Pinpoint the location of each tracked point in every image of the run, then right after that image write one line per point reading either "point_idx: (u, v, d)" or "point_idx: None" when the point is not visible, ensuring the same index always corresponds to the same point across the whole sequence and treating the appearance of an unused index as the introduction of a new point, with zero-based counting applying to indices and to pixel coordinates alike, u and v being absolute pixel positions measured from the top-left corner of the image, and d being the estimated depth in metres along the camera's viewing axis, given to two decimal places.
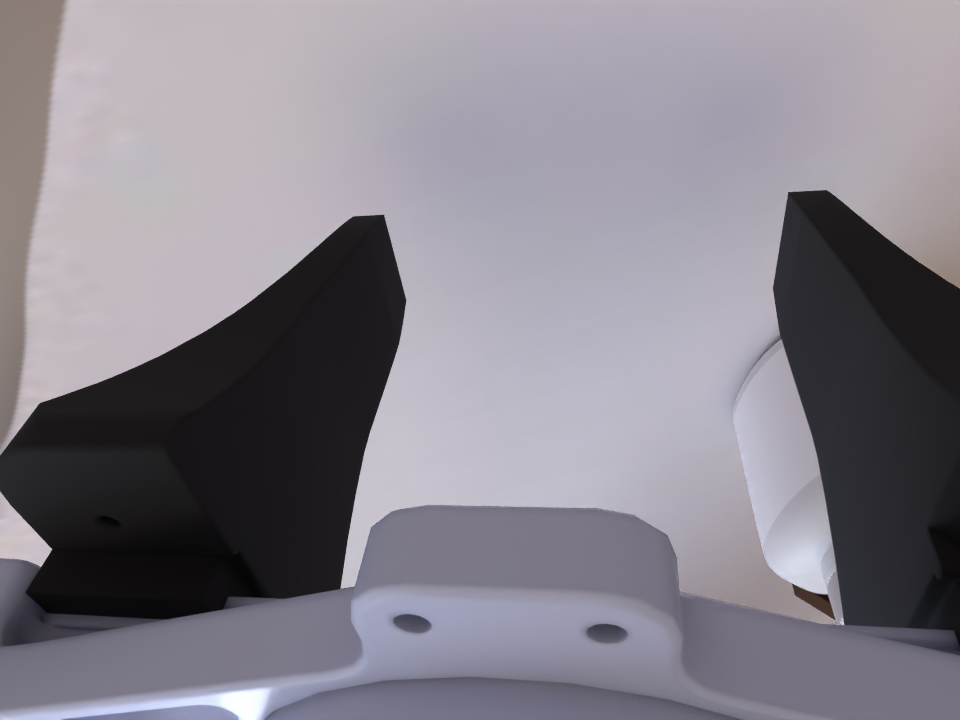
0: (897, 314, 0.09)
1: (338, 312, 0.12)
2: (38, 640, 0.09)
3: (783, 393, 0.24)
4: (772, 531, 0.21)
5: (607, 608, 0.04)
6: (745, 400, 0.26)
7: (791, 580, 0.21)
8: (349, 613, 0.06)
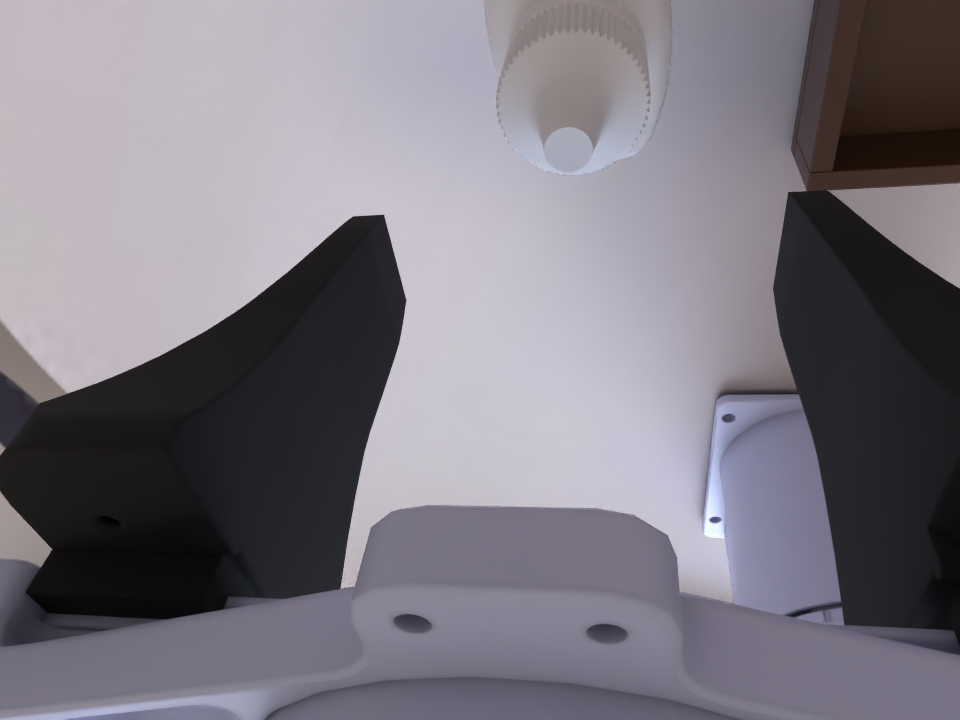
0: (897, 314, 0.09)
1: (338, 312, 0.12)
2: (38, 640, 0.09)
3: None
4: None
5: (607, 609, 0.04)
6: None
7: None
8: (349, 613, 0.06)
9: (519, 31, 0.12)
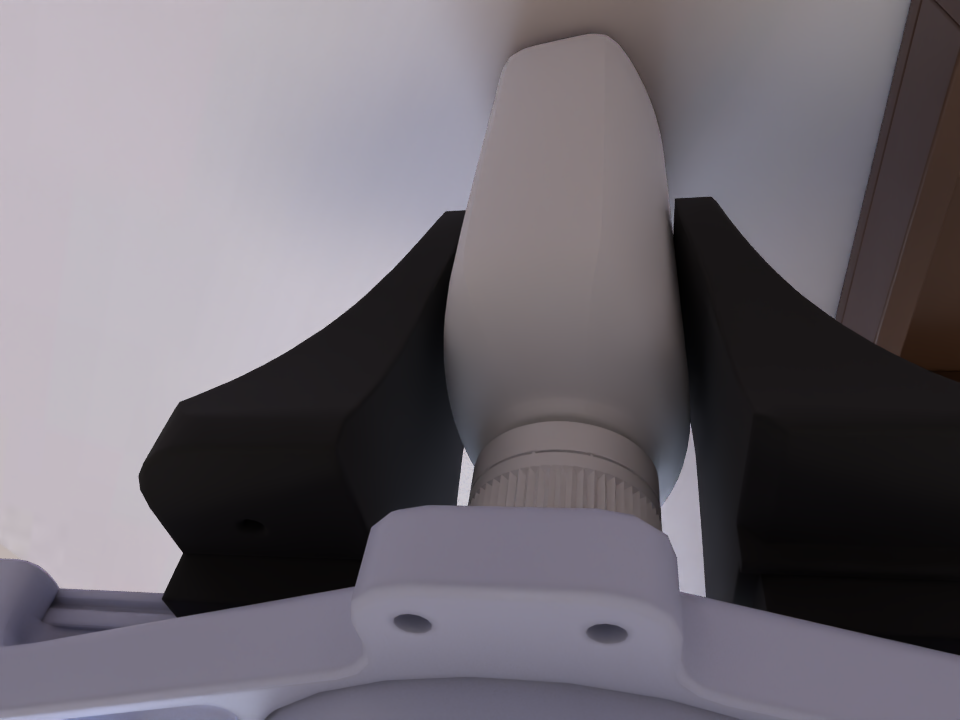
0: (733, 318, 0.09)
1: None
2: (38, 640, 0.09)
3: None
4: None
5: (607, 608, 0.04)
6: None
7: None
8: (349, 613, 0.06)
9: (486, 489, 0.09)
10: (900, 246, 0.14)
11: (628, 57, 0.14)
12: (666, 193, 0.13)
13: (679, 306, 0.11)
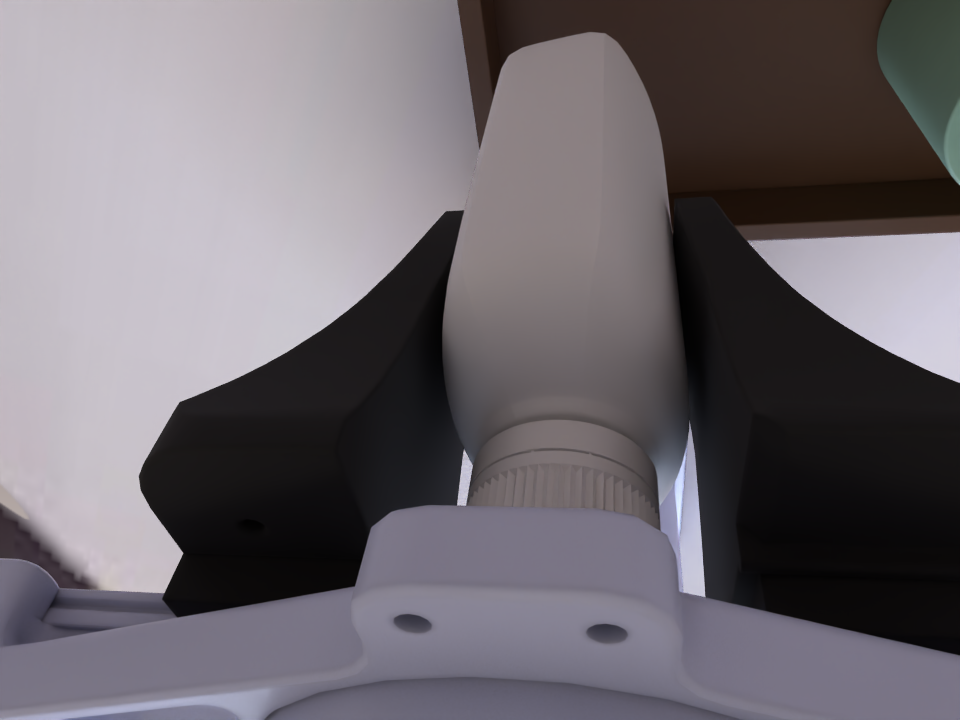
0: (733, 318, 0.09)
1: None
2: (38, 640, 0.09)
3: None
4: None
5: (607, 608, 0.04)
6: None
7: None
8: (349, 613, 0.06)
9: (484, 488, 0.09)
10: (468, 72, 0.19)
11: None
12: (665, 192, 0.13)
13: (678, 305, 0.11)
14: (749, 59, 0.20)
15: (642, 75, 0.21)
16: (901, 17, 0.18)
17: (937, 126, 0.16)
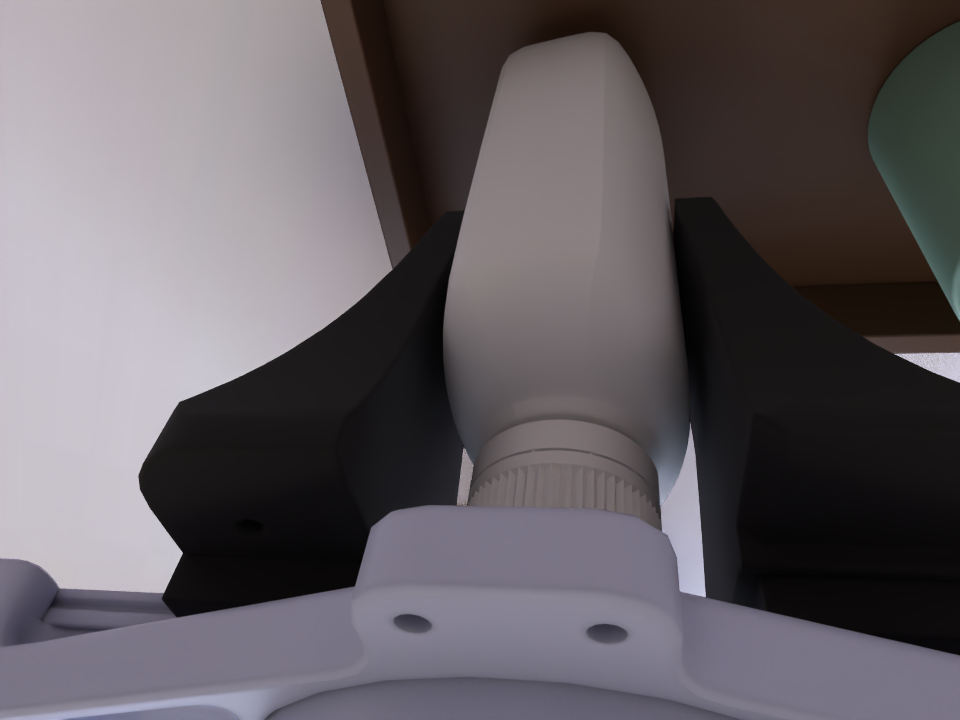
0: (733, 318, 0.09)
1: None
2: (38, 640, 0.09)
3: None
4: None
5: (607, 608, 0.04)
6: None
7: None
8: (349, 613, 0.06)
9: (485, 487, 0.09)
10: (366, 167, 0.16)
11: None
12: (666, 191, 0.13)
13: (679, 304, 0.11)
14: (712, 146, 0.17)
15: None
16: (897, 106, 0.14)
17: (944, 264, 0.12)
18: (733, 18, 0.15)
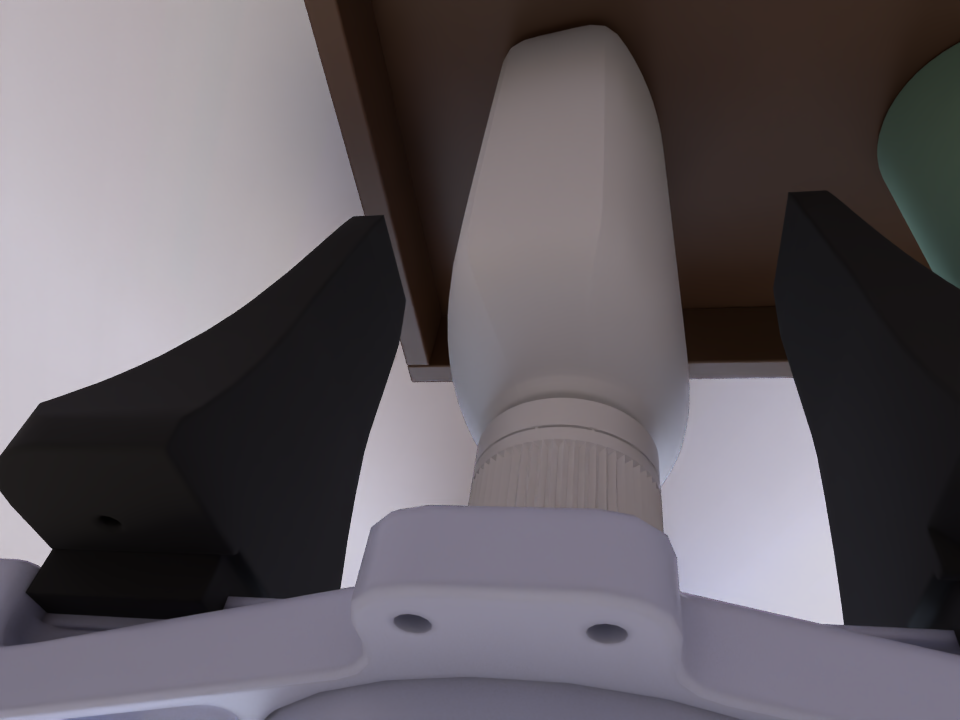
0: (897, 314, 0.09)
1: (338, 312, 0.12)
2: (38, 640, 0.09)
3: None
4: None
5: (607, 608, 0.04)
6: None
7: None
8: (349, 613, 0.06)
9: (490, 464, 0.09)
10: (357, 185, 0.15)
11: (627, 48, 0.14)
12: (665, 181, 0.13)
13: (678, 289, 0.11)
14: (716, 163, 0.16)
15: None
16: (909, 124, 0.14)
17: None
18: (738, 32, 0.14)
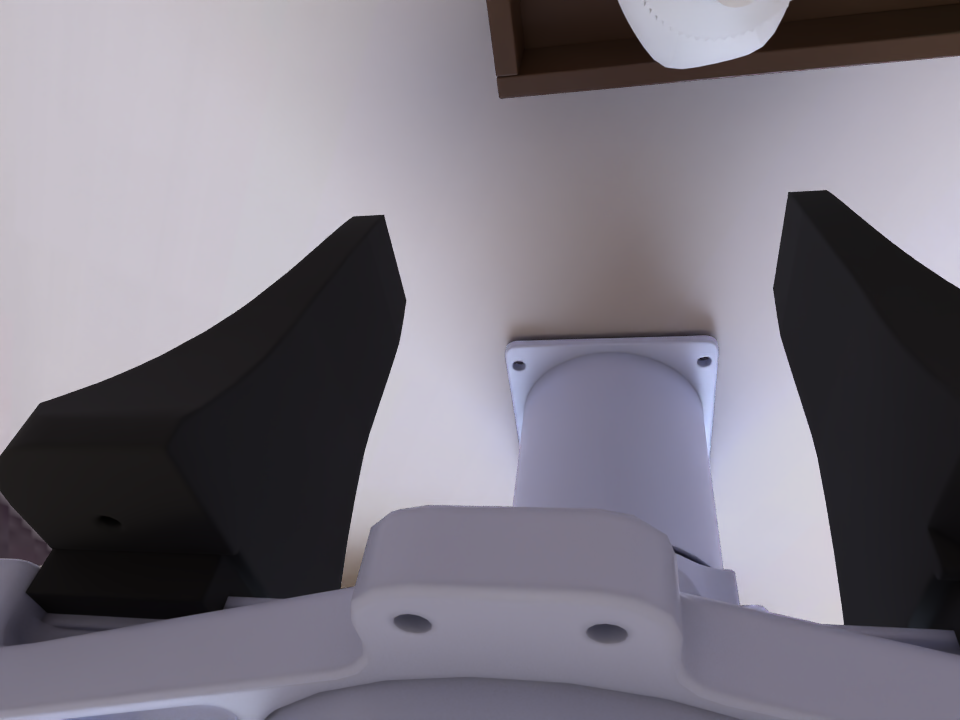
0: (897, 314, 0.09)
1: (338, 312, 0.12)
2: (38, 640, 0.09)
3: None
4: None
5: (607, 608, 0.04)
6: None
7: (690, 55, 0.13)
8: (349, 613, 0.06)
9: None
10: None
11: None
12: None
13: None
14: None
15: None
16: None
17: None
18: None
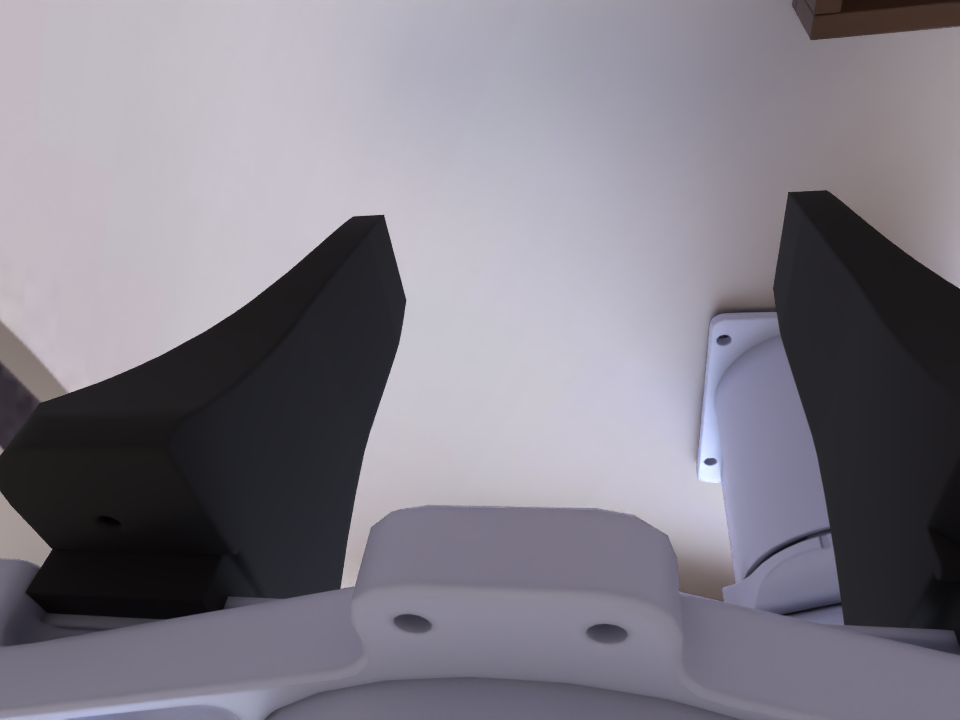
0: (897, 314, 0.09)
1: (338, 312, 0.12)
2: (38, 640, 0.09)
3: None
4: None
5: (607, 608, 0.04)
6: None
7: None
8: (349, 613, 0.06)
9: None
10: None
11: None
12: None
13: None
14: None
15: None
16: None
17: None
18: None
